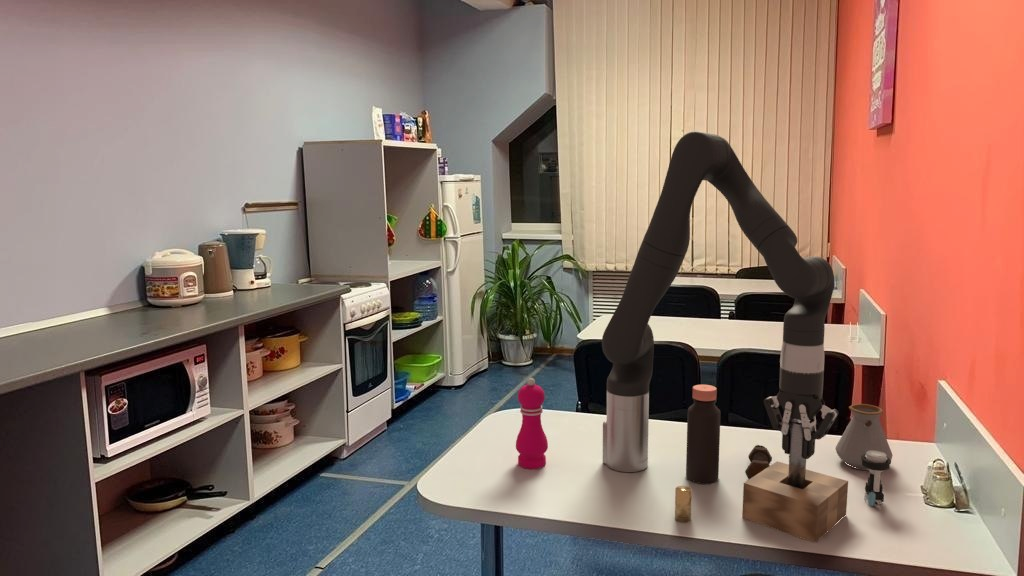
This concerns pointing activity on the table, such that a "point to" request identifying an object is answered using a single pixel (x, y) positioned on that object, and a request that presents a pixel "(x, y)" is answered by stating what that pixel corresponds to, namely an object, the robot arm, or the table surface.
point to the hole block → (795, 502)
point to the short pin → (683, 504)
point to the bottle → (703, 436)
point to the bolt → (758, 461)
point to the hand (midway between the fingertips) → (797, 454)
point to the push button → (875, 476)
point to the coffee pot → (862, 436)
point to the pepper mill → (531, 427)
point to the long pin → (796, 456)
